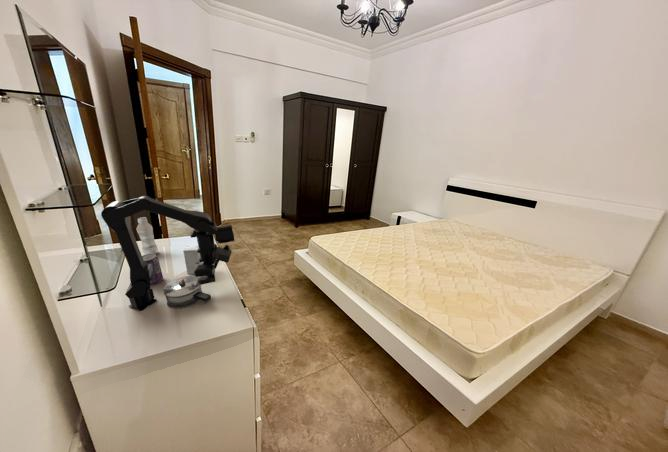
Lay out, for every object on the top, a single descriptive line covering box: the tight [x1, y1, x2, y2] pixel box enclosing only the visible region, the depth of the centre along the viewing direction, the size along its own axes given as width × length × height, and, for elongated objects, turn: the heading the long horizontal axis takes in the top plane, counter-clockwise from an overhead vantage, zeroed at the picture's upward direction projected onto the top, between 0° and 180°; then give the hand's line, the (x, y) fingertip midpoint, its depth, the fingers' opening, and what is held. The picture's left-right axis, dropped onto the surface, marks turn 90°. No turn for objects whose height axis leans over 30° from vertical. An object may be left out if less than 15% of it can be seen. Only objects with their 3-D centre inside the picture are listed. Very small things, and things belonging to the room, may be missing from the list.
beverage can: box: [142, 254, 164, 286], centre depth 107 cm, size 7×7×12 cm
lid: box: [162, 274, 217, 298], centre depth 98 cm, size 13×18×2 cm
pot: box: [165, 285, 212, 310], centre depth 98 cm, size 12×18×5 cm
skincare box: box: [182, 245, 203, 275], centre depth 116 cm, size 6×4×12 cm
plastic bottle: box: [136, 216, 159, 255], centre depth 128 cm, size 6×7×20 cm
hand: (212, 278), depth 104 cm, fingers closed
